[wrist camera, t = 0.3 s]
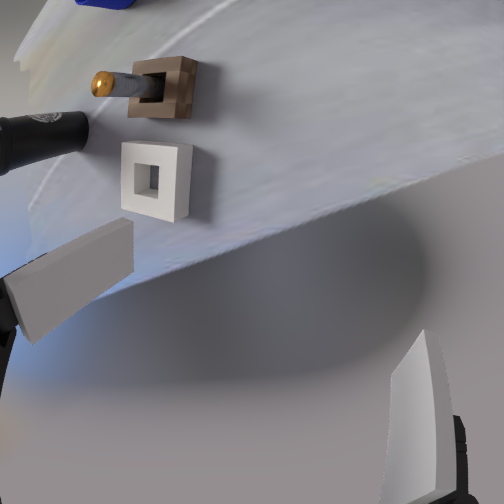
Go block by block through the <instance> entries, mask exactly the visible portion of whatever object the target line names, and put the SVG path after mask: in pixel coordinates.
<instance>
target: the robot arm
mask: <svg viewBox="0 0 504 504" xmlns="http://www.w3.org/2000/svg"><path fill="white" fill-rule="evenodd" d="M133 224H134V222H133V221H131V220H128V219H125V218H123V217H122V218H119V219H117V220H115V221H113V222H110V223H108V224H106V225H104V226H102V227H99V228H97V229H95V230H93V231H91V232H89V233H87V234H85V235H83V236H81V237H79V238H76V239H74V240H72V241H70V242H68V243H66V244H64V245H62V246H61V247H59V248H57V249H55V250H53V251H51V252H49V253H45V254H43V255H41V256H39V257H37V258H36V259H35V260H32V261H30V262H28V264H25V265H23V266H22V267H20V268H18V269H16V270H14V271H12V272H11V273H9V274H7V275H5V276H4V277H2V278H0V396H1V391H2V386H3V382H4V377H5V373H6V369H7V365H8V361H9V357H10V354H11V350H12V346H13V343H14V340H15V336H16V331H17V330H16V327H15V326H17V325H18V324H19V326H20V328H21V330H22V333H23V335H24V336H25V337H26V338H27V340H28V341H29V342H30V343H31V344H32V345H33V344H35V343H36V342H37V341H38V340H40V339H41V338H42V337H44V336H45V335H46V334H48V333H49V332H50V331H51V330H53V329H54V328H55V327H57V326H58V325H59V324H61V323H62V322H63V321H65V320H66V319H67V318H69V317H70V316H72V315H73V314H74V313H76V312H77V311H78V310H80V309H81V308H83V307H84V306H85V305H87V304H88V303H90V302H91V301H92V300H94V299H95V298H97V297H98V296H99V295H101V294H102V293H104V292H105V291H107V290H108V289H109V288H111V287H112V286H114V285H115V284H117V283H118V282H119V281H121V280H122V279H124V278H125V277H127V276H128V275H130V274H131V273H133V272H134V262H133ZM465 442H466V435H465V428H464V426H463V423H462V421H461V419H460V416H455V415H453V412H452V404H451V397H450V390H449V384H448V378H447V373H446V367H445V362H444V357H443V353H442V348H441V344H440V339H439V335H438V334H436V333H433V332H430V331H427V330H425V329H423V330H422V332H421V333H420V335H419V336H418V338H417V339H416V341H415V342H414V344H413V345H412V347H411V348H410V350H409V351H408V353H407V354H406V355H405V357H404V358H403V359H402V361H401V362H400V364H399V365H398V366H397V368H396V369H395V370H394V372H393V373H392V374H391V401H390V420H389V433H388V444H387V453H386V463H385V469H384V477H383V483H382V489H381V495H380V500H379V504H479V503H478V501H477V500H476V498H475V497H474V496H472V495H471V494H468V463H467V461H468V460H467V454H466V452H467V445H466V444H465ZM0 504H2V503H1V498H0Z"/></svg>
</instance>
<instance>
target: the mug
mask: <svg viewBox="0 0 504 504" xmlns="http://www.w3.org/2000/svg"><path fill="white" fill-rule="evenodd" d="M75 2H76V3H77V4H78V5H86V6H94V7H101V8H108V9H114V10H121V9H124V8H126V7H128V6H129V5H131V4H132V3H133V2H134V0H75Z"/></svg>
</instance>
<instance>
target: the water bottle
mask: <svg viewBox="0 0 504 504" xmlns="http://www.w3.org/2000/svg"><path fill="white" fill-rule="evenodd" d="M88 133H89V126H88V121H87V118H86V116H85V115H84V113H82V112H80V111H76V112H56V113H47V114H46V113H44V114H35V115H26V116H20V117H14V118H5V117H1V118H0V176H2V175H5V174H6V173H8V172H9V171H10V170H13V169H16V168H19V167H22V166H25V165H28V164H31V163H35V162H38V161H41V160H45V159H48V158H52V157H56V156H59V155H63V154H67V153H71V152H75V151H79V150H81V149H82V148H83V147H84V146H85V144H86V142H87V139H88Z"/></svg>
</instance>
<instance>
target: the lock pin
mask: <svg viewBox="0 0 504 504" xmlns="http://www.w3.org/2000/svg"><path fill="white" fill-rule="evenodd" d="M165 82H166V79H163V78H156V77H150V76H143V75H135V74H126V73H117V72H106V71H100V72H98V73H97V74H96V75H95V76H94V78H93V80H92V84H91V91H92V94H93V95H94V96H95V97H137V98H155V99H164V90H165Z"/></svg>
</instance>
